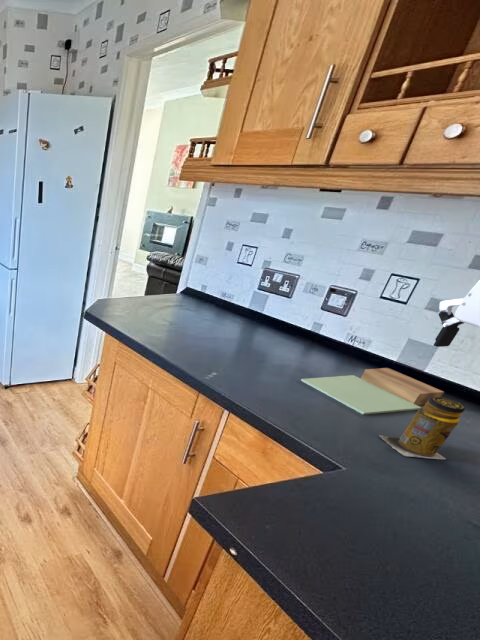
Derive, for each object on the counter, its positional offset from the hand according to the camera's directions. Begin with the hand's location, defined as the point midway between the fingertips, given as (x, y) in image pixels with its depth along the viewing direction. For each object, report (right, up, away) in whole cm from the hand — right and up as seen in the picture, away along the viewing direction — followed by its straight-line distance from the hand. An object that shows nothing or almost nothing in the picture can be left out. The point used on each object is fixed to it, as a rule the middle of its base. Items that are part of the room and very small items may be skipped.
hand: (469, 356), depth 80 cm
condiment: (0, -20, +11) cm, 23 cm away
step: (+21, -7, +34) cm, 41 cm away
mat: (+8, -8, +32) cm, 34 cm away
